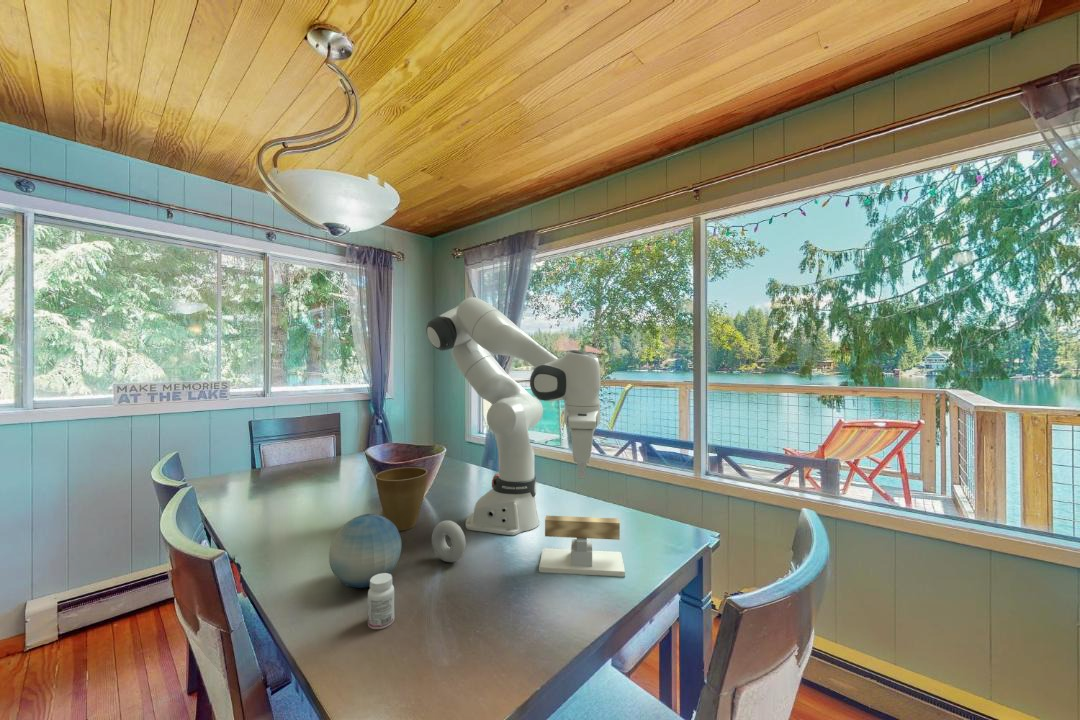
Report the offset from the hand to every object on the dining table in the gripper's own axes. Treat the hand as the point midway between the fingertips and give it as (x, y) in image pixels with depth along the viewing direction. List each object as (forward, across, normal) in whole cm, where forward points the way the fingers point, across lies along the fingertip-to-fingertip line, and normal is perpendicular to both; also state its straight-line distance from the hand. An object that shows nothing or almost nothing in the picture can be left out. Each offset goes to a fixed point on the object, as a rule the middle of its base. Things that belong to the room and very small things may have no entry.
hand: (581, 472), depth 103 cm
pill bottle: (+23, +27, -38) cm, 52 cm away
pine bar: (+15, 0, 0) cm, 15 cm away
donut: (+23, +2, -33) cm, 40 cm away
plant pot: (+23, -18, -54) cm, 61 cm away
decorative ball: (+23, +14, -48) cm, 55 cm away
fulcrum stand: (+22, 0, 0) cm, 22 cm away
